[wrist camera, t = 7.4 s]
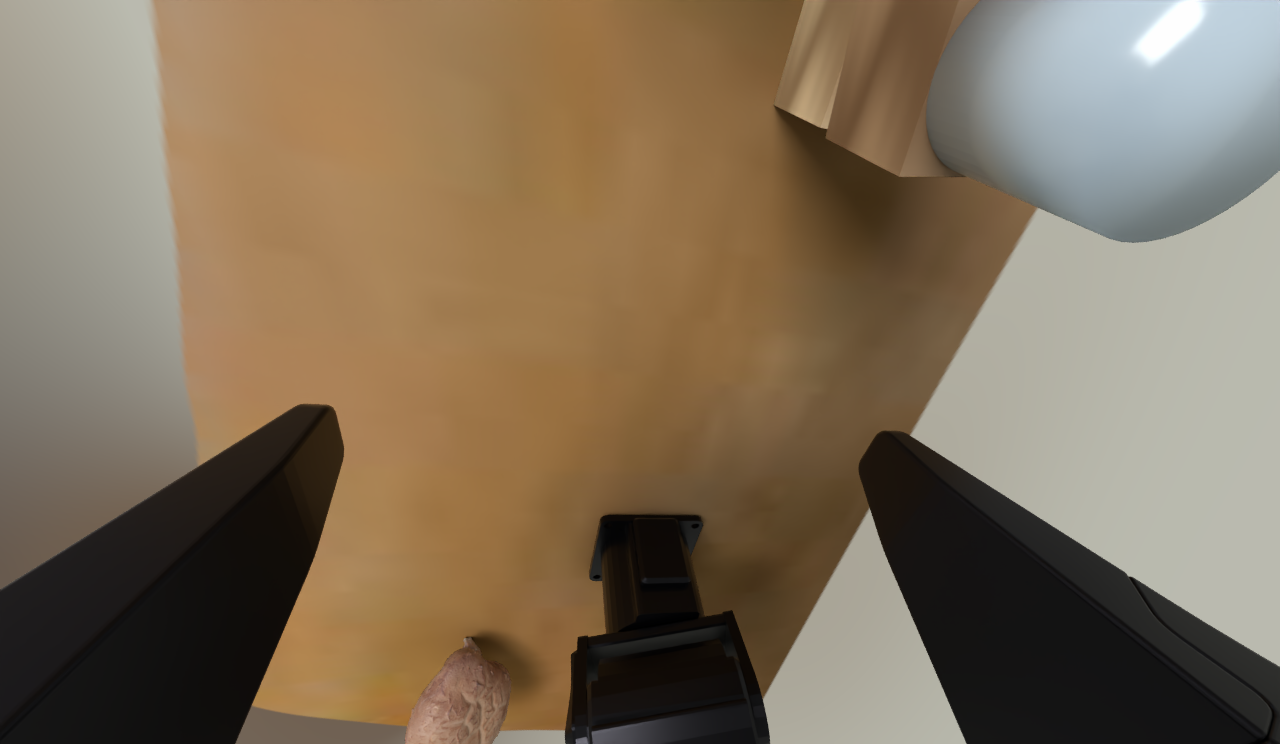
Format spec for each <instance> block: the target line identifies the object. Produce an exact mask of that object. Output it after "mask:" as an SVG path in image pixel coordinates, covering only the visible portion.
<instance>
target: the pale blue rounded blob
mask: <svg viewBox="0 0 1280 744" xmlns="http://www.w3.org/2000/svg"><path fill="white" fill-rule="evenodd" d="M926 124H927V132H928V137H929V141H930V143H931V146H932V149H933V150H934V152H935V154H936V156H937V157H938V158H939V159H940V161H941V162H942V163H943V164H944V165H946V166H947V167H948V168H950V169H951V170H953V171H955V172H957V173H959V174H962V175H964V176H966V177H969V178H971V179H973V180H976V181H978V182H980V183H983V184H985V185H987V186H989V187H992V188H994V189H996V190H999V191H1001V192H1003V193H1006V194H1008V195H1010V196H1012V197H1015V198H1017V199H1019V200H1022V201H1024V202H1026V203H1029V204H1031V205H1033V206H1036V207H1038V208H1040V209H1042V210H1045V211H1047V212H1050V213H1052V214H1054V215H1056V216H1059V217H1061V218H1063V219H1066V220H1068V221H1070V222H1072V223H1075V224H1077V225H1079V226H1082V227H1084V228H1086V229H1089V230H1091V231H1093V232H1095V233H1098V234H1100V235H1103V236H1105V237H1107V238H1109V239H1113V240H1116V241H1121V242H1132V243H1134V242H1147V241H1153V240H1158V239H1163V238H1166V237H1169V236H1173V235H1176V234H1179V233H1181V232H1184V231H1186V230H1189V229H1191V228H1194V227H1196V226H1198V225H1200V224H1202V223H1204V222H1206V221H1208V220H1210V219H1212V218H1214V217H1215V216H1217V215H1219V214H1221V213H1222V212H1224V211H1226V210H1227V209H1229V208H1231V207H1232V206H1234V205H1235V204H1237V203H1238V202H1239V201H1241V200H1243V199H1244V198H1245V197H1247V196H1248V195H1250V194H1251V193H1252V192H1254V191H1255V190H1256V189H1258V188H1259V187H1260V186H1262V185H1263V184H1264V183H1265V182H1267V181H1268V180H1269V179H1270V178H1271V177H1272V176H1273V175H1275V174H1276V173H1277V172H1278V171H1280V0H980V1H979V2H978V3H977V5H976V6H975V7H974V8H973V9H972V10H971V11H970V12H969V14H968V15H967V16H966V17H965V19H964V20H963V22H962V23H961V24H960V26H959V27H958V28H957V30H956V31H955V33H954V35H953V36H952V38H951V39H950V41H949V43H948V44H947V46H946V48H945V50H944V52H943V54H942V56H941V58H940V60H939V63H938V65H937V68H936V70H935V73H934V76H933V79H932V83H931V86H930V90H929V95H928V100H927V110H926Z"/></svg>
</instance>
